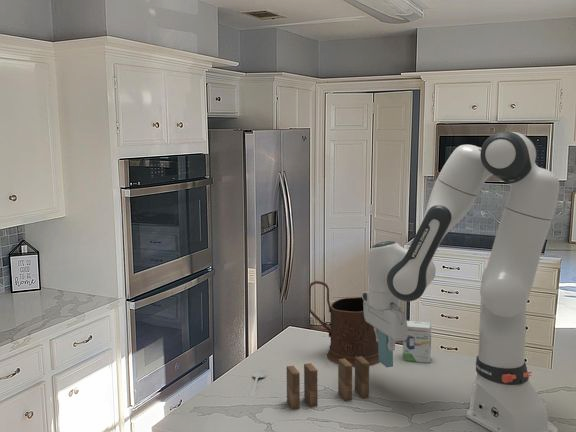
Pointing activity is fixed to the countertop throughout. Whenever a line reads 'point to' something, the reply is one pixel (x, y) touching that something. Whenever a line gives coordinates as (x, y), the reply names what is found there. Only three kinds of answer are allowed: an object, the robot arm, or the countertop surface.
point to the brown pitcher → (349, 330)
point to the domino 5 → (384, 350)
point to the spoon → (258, 372)
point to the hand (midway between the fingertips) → (385, 346)
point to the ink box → (417, 342)
